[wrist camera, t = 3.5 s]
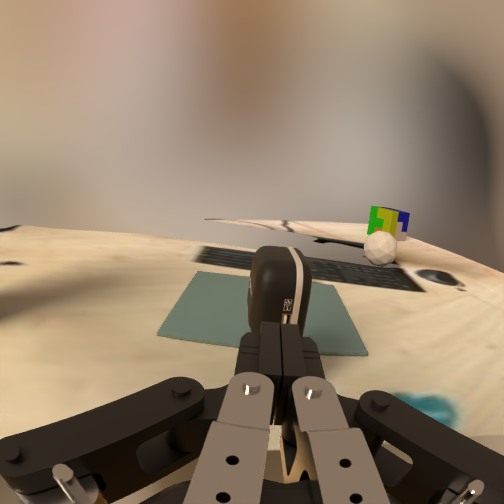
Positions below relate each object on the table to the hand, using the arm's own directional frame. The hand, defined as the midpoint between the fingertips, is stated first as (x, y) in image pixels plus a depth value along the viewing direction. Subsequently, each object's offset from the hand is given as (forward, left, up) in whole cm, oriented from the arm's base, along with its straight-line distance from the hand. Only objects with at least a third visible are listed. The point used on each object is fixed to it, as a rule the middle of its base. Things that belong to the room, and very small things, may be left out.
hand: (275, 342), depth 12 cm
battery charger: (0, +11, -11) cm, 15 cm away
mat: (0, +25, -10) cm, 27 cm away
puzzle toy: (+42, +89, -11) cm, 99 cm away
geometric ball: (+25, +52, -11) cm, 58 cm away
